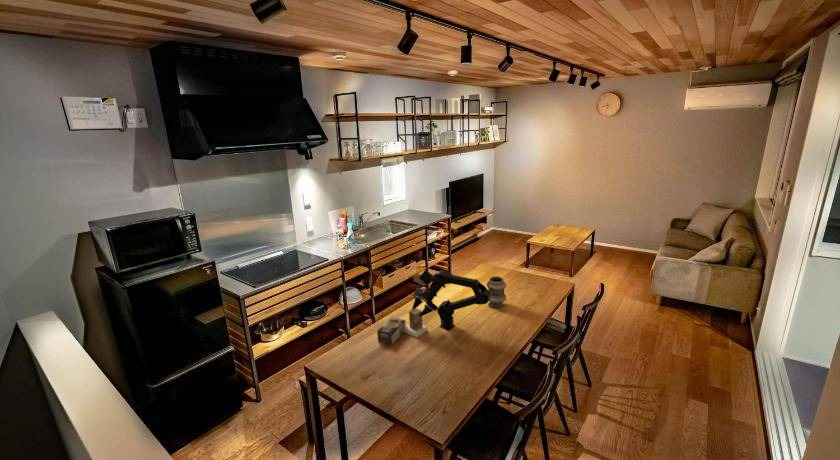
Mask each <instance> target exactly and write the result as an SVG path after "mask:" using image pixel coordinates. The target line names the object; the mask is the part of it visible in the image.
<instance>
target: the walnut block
mask: <svg viewBox="0 0 840 460" xmlns="http://www.w3.org/2000/svg"><path fill="white" fill-rule="evenodd" d="M422 311H423V310H421V309H418V308H414V309H413V310H412V309H411V310H409V311H408V320H409V325H410V328H412V329H414V330H416V331H417V330H418V329H420V328H421V327H422V325H423V316H422V317H420V314H421V312H422Z"/></svg>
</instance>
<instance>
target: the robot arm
mask: <svg viewBox="0 0 840 460" xmlns="http://www.w3.org/2000/svg"><path fill="white" fill-rule="evenodd" d="M418 280H419V281H420V282H422V283H423V284H425V285H426V286H428V285H429V286H428V287H426V288H420V287H416V289H415V291H414V292H413V297H414V302H413V305H412V308H411V310H413V309H414V308H416V309H418V307H419V306H420V305H421V304H422V303H423V302H424V303H425V304H424V307H423V309H422V310H421V311H422V312H421V314H420V317H422V318H423V317H424V316H425V315H427V314H429V313H432V312H434V311H435V312H437V314H438V316H439V319H440V325H439V328H442V329H444V330H446V331H450V330H451V329H453V328H454V327H455V326H456V324H454V317H453V315H454V314H455V311H457V310H459V309H463V308H466V307H469V306H470V307H471V306H472V305H473V306H474V305H486V304H488V303H489V299H490V298H491V292H490V291H489V288H488V287H487V286H485V285H484V284H482V283H481V282H480V280H479V279H477V278H474V279H473V278H469V277H464V276H459V275H454V274H452V273H451V272H449V271H446V270H440V271H439V272H435V273H434V274H432V273H430V271H428V270H427V269H425V270H424V271H423V272H422V274H421V275H419V277H418ZM449 284H450V285H457V286H461V287H466V288H471V290H472V292H473V294H474V295H470V296H467V297H465V298H461V299H459V300H456V301H450V299H447V300H443V301H442V302H441V304H439V306H438V305H437V304H435V303H434V301H433V300H434V299H435V298H437V297H438V293H439V292H440V291H441V289H442V288H444V289H446V285H449Z"/></svg>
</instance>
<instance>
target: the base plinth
mask: <svg viewBox="0 0 840 460" xmlns="http://www.w3.org/2000/svg"><path fill="white" fill-rule="evenodd" d="M404 329H405V331H404V333H406V334H408V335H411V336H412V337H414V336H415V337H414V338H418V337H419V335H420V336H422V335H424V334H425V333H426V332H427V331H428V326H427V325H424V324H422V327H421V328H420V329H418V330H417V331H416V330H414V329H412V328H410V324H408V325H407V326H406V327H405V328H404Z"/></svg>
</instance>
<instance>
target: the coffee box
mask: <svg viewBox="0 0 840 460" xmlns="http://www.w3.org/2000/svg"><path fill="white" fill-rule="evenodd" d="M406 322H407V321H406V319H404V318H403V319H402V318H398V317H394V316H390V318H389V319H388V320H386V322H385V323H383V324H382V326H381V327H380V328H379V329H377V331H376V333H377V341H378V342H383V343H386V344H390V345H393V344H394V342H395V341H396V340H398V338H399V337H400V336H401V335H402V334H403V333H405V329H404V328H405V327H407V326H406V325H407V323H406Z"/></svg>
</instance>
